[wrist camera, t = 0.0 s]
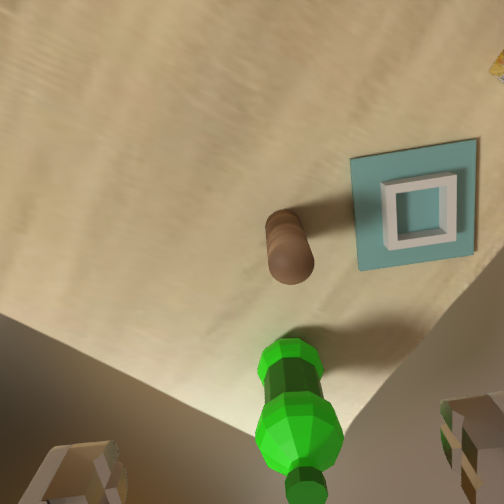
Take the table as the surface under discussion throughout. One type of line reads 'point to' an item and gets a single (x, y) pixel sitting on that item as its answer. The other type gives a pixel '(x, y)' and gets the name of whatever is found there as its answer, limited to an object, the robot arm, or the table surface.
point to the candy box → (498, 67)
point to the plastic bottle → (297, 420)
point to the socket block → (414, 204)
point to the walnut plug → (288, 248)
